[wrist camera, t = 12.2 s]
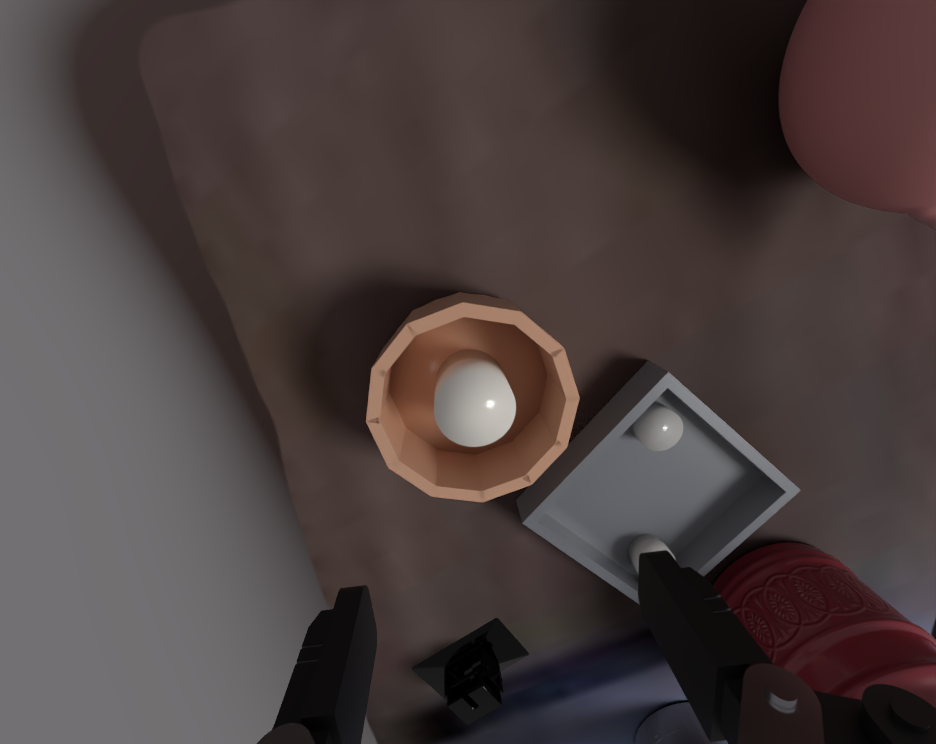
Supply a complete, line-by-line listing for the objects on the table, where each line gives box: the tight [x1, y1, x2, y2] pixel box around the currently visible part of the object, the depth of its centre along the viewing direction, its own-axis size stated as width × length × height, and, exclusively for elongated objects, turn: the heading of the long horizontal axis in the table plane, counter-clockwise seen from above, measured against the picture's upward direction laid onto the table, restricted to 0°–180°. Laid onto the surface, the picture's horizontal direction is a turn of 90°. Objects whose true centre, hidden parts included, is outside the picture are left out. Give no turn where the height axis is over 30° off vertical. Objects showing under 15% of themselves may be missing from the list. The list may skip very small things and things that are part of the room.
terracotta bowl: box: [366, 292, 580, 502], centre depth 29 cm, size 13×13×6 cm
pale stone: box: [434, 349, 516, 447], centre depth 28 cm, size 5×5×5 cm
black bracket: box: [412, 618, 529, 725], centre depth 38 cm, size 12×7×5 cm, turn 125°
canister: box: [713, 542, 936, 708], centre depth 31 cm, size 13×13×18 cm
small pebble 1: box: [630, 401, 683, 451], centre depth 32 cm, size 3×3×2 cm
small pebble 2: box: [627, 534, 676, 573], centre depth 35 cm, size 3×3×2 cm
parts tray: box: [516, 360, 801, 605], centre depth 34 cm, size 15×15×3 cm
